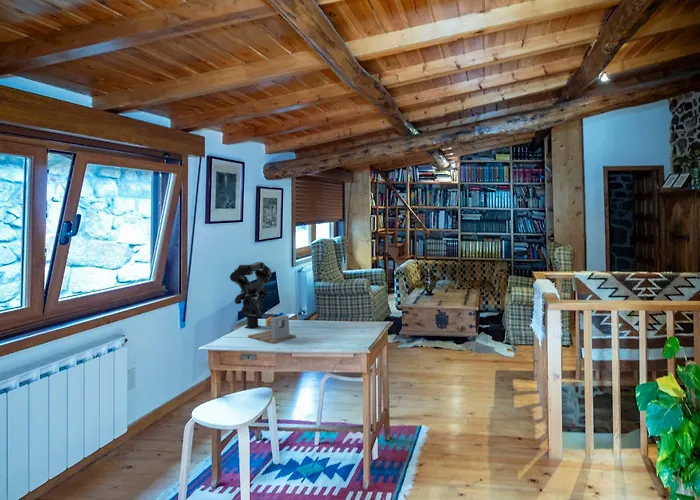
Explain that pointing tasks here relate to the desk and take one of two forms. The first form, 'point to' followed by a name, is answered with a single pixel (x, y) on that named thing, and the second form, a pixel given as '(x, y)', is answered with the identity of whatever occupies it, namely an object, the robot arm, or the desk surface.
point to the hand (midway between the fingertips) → (259, 308)
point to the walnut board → (268, 337)
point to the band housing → (279, 331)
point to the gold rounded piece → (270, 320)
